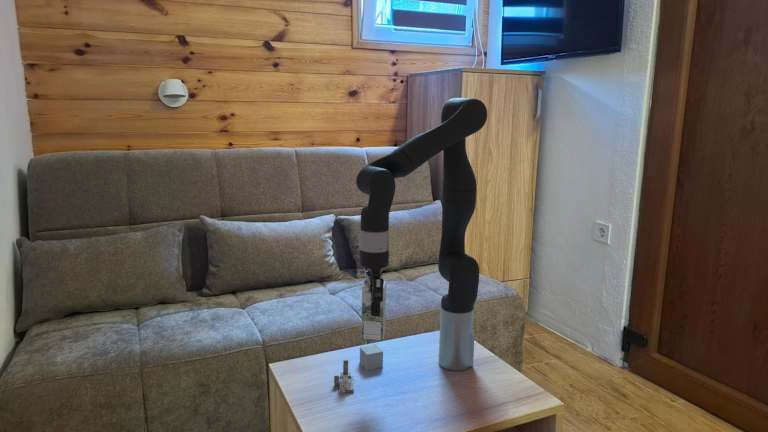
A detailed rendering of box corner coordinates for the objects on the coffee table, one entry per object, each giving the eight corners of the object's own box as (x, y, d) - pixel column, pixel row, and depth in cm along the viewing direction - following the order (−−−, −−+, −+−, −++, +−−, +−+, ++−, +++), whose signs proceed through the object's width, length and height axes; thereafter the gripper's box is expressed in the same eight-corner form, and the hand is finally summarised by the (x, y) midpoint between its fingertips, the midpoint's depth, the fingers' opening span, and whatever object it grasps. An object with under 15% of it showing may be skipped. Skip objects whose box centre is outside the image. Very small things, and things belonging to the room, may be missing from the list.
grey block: (375, 360, 157) (375, 344, 156) (382, 367, 153) (383, 351, 152) (359, 363, 155) (359, 347, 154) (366, 371, 151) (366, 354, 150)
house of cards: (321, 377, 147) (321, 351, 146) (353, 377, 148) (353, 351, 146) (320, 394, 138) (319, 367, 137) (353, 394, 139) (354, 367, 137)
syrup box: (385, 332, 141) (386, 279, 138) (383, 342, 135) (384, 287, 132) (363, 331, 141) (364, 278, 138) (360, 340, 136) (361, 285, 133)
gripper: (394, 254, 127) (393, 320, 131) (383, 239, 141) (382, 299, 144) (363, 255, 126) (362, 322, 129) (355, 240, 140) (354, 300, 143)
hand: (373, 310), depth 137 cm, fingers closed on syrup box, 6 cm apart
